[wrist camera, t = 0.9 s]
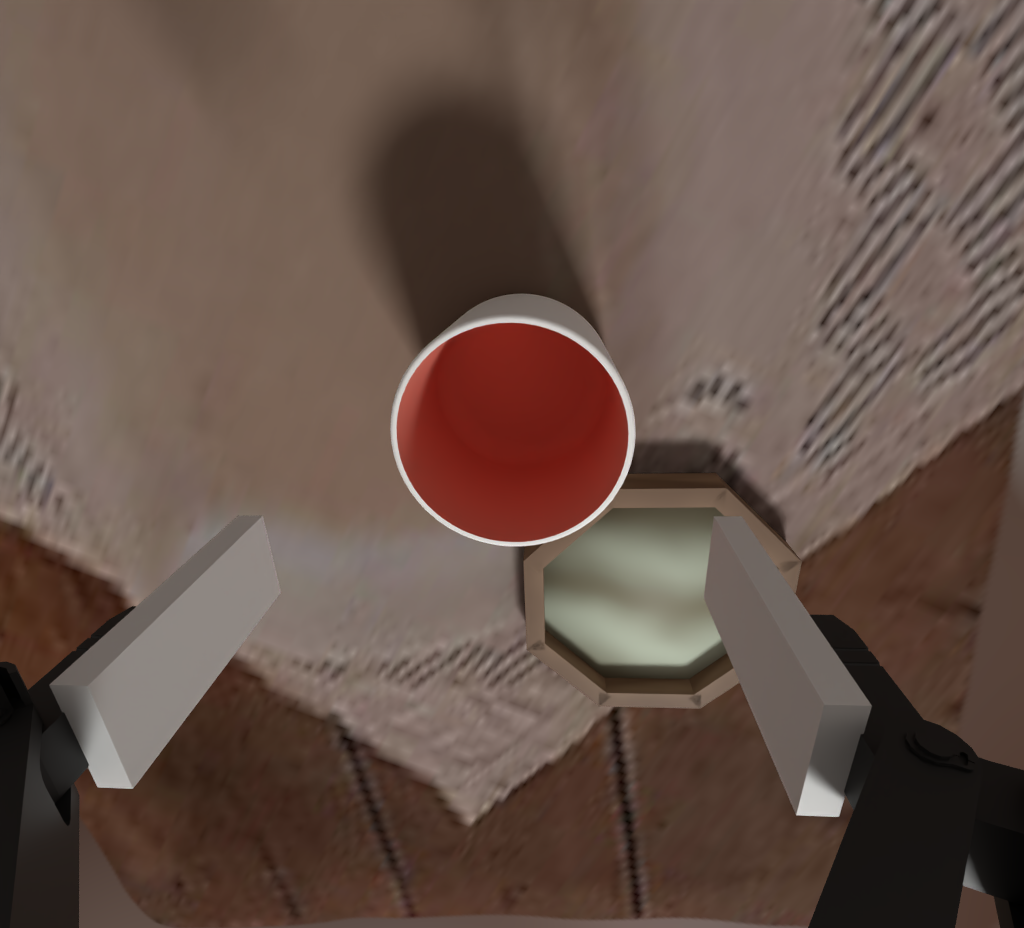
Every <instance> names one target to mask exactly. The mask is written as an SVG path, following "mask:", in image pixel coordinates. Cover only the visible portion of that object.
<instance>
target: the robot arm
mask: <svg viewBox="0 0 1024 928" xmlns="http://www.w3.org/2000/svg"><path fill="white" fill-rule="evenodd" d="M280 593H281V590H280V586H279V582H278V578H277V574H276V569H275V565H274V561H273V557H272V552H271V548H270V544H269V540H268V536H267V531H266V527H265V523H264V519H263V516H237V517H236V518H235V519H234V520H233V521H232V522H230V523H229V524H228V525H227V526H226V527H225V528H224V529H223V530H221V531H220V532H219V533H218V534H217V535H216V536H215V537H214V538H213V539H211V540H210V541H209V542H208V543H207V544H206V545H205V546H204V547H202V548H201V549H200V550H199V551H198V552H197V553H196V554H195V555H194V556H192V557H191V558H190V559H189V560H188V561H187V562H186V563H185V564H184V565H182V566H181V567H180V568H179V569H178V570H177V571H176V572H175V573H173V574H172V575H171V576H170V577H169V578H168V579H167V580H166V581H165V582H163V583H162V584H161V585H160V586H159V587H158V588H157V589H156V590H154V591H153V592H152V593H151V594H150V595H149V596H148V597H147V598H146V599H144V600H143V601H142V602H141V603H140V604H139V605H138V606H137V607H136V606H132V607H130V608H129V609H127V610H125V611H123V612H122V613H120V614H118V615H116V616H115V617H113V618H111V619H109V620H108V621H107V622H106V623H105V624H104V625H102V626H101V627H100V628H99V629H98V630H97V631H96V632H94V633H93V634H92V635H91V638H87V639H86V640H85V641H84V642H83V643H82V644H81V645H79V646H78V647H77V650H76V651H73V652H71V653H70V654H69V655H68V656H67V657H66V658H64V659H63V660H62V661H61V662H60V663H59V664H58V665H56V666H55V667H54V668H53V669H52V670H51V671H50V672H48V673H47V674H46V675H45V676H44V677H43V678H41V679H40V680H39V681H38V682H37V683H36V684H35V685H33V686H32V687H31V688H30V689H29V690H27V688H26V686H25V684H24V682H23V680H22V678H21V676H20V674H19V672H18V670H17V667H16V665H15V664H12V663H9V662H0V928H79V794H78V791H77V788H76V786H75V784H74V782H75V781H76V780H77V779H78V778H79V777H80V775H81V774H82V773H83V772H84V771H85V770H86V768H87V767H88V768H89V770H90V772H91V774H92V776H93V778H94V781H95V783H96V785H97V787H103V788H128V789H133V788H134V787H135V785H136V784H137V783H138V781H139V780H140V779H141V777H142V776H143V775H144V773H145V772H146V771H147V769H148V768H149V767H150V765H151V764H152V763H153V761H154V760H155V759H156V758H157V756H158V755H159V754H160V752H161V751H162V750H163V748H164V747H165V746H166V744H167V743H168V742H169V740H170V739H171V738H172V736H173V735H174V734H175V732H176V731H177V730H178V728H179V727H180V726H181V724H182V723H183V722H184V720H185V719H186V718H187V716H188V715H189V714H190V712H191V711H192V710H193V708H194V707H195V706H196V705H197V703H198V702H199V701H200V699H201V698H202V697H203V695H204V694H205V693H206V691H207V690H208V689H209V687H210V686H211V685H212V683H213V682H214V681H215V679H216V678H217V677H218V675H219V674H220V673H221V671H222V670H223V669H224V667H225V666H226V665H227V663H228V662H229V661H230V659H231V658H232V657H233V655H234V654H235V653H236V652H237V650H238V649H239V648H240V646H241V645H242V644H243V642H244V641H245V640H246V638H247V637H248V636H249V634H250V633H251V632H252V630H253V629H254V628H255V626H256V625H257V624H258V622H259V621H260V620H261V618H262V617H263V616H264V614H265V613H266V612H267V610H268V609H269V608H270V606H271V605H272V604H273V602H274V601H275V600H276V599H277V597H278V596H279V595H280ZM704 600H705V602H706V604H707V607H708V609H709V611H710V614H711V616H712V618H713V621H714V623H715V626H716V628H717V630H718V633H719V635H720V637H721V640H722V642H723V644H724V647H725V649H726V651H727V654H728V656H729V658H730V661H731V663H732V665H733V668H734V670H735V672H736V675H737V677H738V679H739V682H740V684H741V687H742V689H743V691H744V694H745V696H746V698H747V701H748V703H749V705H750V708H751V710H752V712H753V715H754V717H755V719H756V722H757V724H758V726H759V729H760V731H761V733H762V736H763V738H764V741H765V743H766V745H767V748H768V750H769V752H770V755H771V757H772V759H773V762H774V764H775V766H776V769H777V771H778V773H779V776H780V778H781V780H782V783H783V785H784V787H785V790H786V792H787V794H788V797H789V799H790V802H791V804H792V806H793V809H794V811H795V813H796V815H805V816H830V817H839V815H840V811H841V808H842V805H843V801H844V798H845V795H846V796H847V798H848V800H849V802H850V804H851V806H852V808H853V810H854V811H853V814H852V817H851V819H850V822H849V824H848V827H847V829H846V832H845V835H844V837H843V840H842V842H841V845H840V847H839V850H838V853H837V855H836V858H835V860H834V863H833V865H832V868H831V871H830V873H829V876H828V878H827V881H826V883H825V886H824V889H823V891H822V894H821V896H820V899H819V901H818V904H817V907H816V909H815V912H814V914H813V917H812V919H811V922H810V925H809V927H808V928H955V925H956V919H957V913H958V908H959V903H960V897H961V892H962V886H966V887H969V888H972V889H975V890H978V891H981V892H983V893H986V894H989V895H992V896H994V899H995V904H996V909H997V914H998V919H999V924H1000V928H1024V770H1021V769H1017V768H1013V767H1009V766H1006V765H1002V764H998V763H995V762H991V761H988V760H985V759H982V758H979V757H978V756H977V755H976V753H975V752H974V751H973V749H972V748H971V747H970V746H969V745H968V744H967V743H965V742H964V741H963V740H962V739H961V738H960V737H958V736H957V735H956V734H954V733H952V732H950V731H949V730H947V729H945V728H943V727H942V726H940V725H937V724H935V723H932V722H929V721H926V720H923V718H922V717H921V716H920V715H919V713H918V712H917V711H916V709H915V708H914V707H913V706H912V704H911V703H910V702H909V700H908V699H907V698H906V696H905V695H904V694H903V693H902V691H901V690H900V689H899V687H898V686H897V685H896V684H895V682H894V681H893V680H892V678H891V677H890V676H889V675H888V673H887V672H886V671H885V669H884V668H883V667H882V666H880V665H879V662H878V660H877V659H876V658H875V656H874V655H873V654H872V653H871V652H869V651H868V647H867V646H866V645H865V643H864V642H863V641H862V640H861V638H860V637H859V636H858V634H857V633H856V632H855V631H854V630H853V629H852V628H850V627H849V626H848V625H846V624H845V623H843V622H842V621H841V620H839V619H838V618H837V617H835V616H834V615H809V613H808V612H807V611H806V609H805V608H804V606H803V605H802V603H801V602H800V600H799V599H798V597H797V596H796V595H795V593H794V592H793V590H792V589H791V587H790V586H789V584H788V583H787V581H786V580H785V579H784V577H783V576H782V574H781V573H780V571H779V570H778V568H777V567H776V565H775V564H774V562H773V561H772V560H771V558H770V557H769V555H768V554H767V552H766V551H765V549H764V548H763V546H762V545H761V544H760V542H759V541H758V539H757V538H756V536H755V535H754V533H753V532H752V530H751V529H750V528H749V526H748V525H747V523H746V522H745V520H744V519H743V517H742V516H714V519H713V527H712V535H711V543H710V551H709V559H708V567H707V575H706V583H705V591H704Z"/></svg>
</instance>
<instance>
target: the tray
mask: <svg viewBox="0 0 1024 928" xmlns="http://www.w3.org/2000/svg"><path fill="white" fill-rule="evenodd" d="M714 516H742V517H743V519H744V520H745V522H746V523H747V525H748V526H749V528H750V529H751V530H752V532H753V533H754V535H755V536H756V538H757V539H758V541H759V542H760V544H761V545H762V546H763V548H764V549H765V551H766V552H767V554H768V555H769V557H770V558H771V560H772V561H773V562H774V564H775V565H776V567H777V568H778V570H779V571H780V573H781V574H782V576H783V577H784V579H785V580H786V581H787V583H788V584H789V586H790V587H791V589H792V590H793V592H794V593H795V594H796V588H797V583H798V578H799V572H800V567H801V562H802V561H801V560H800V559H799V558H798V556H797V555H796V554H795V552H794V551H793V550H792V549H791V547H790V546H789V545H788V544H787V542H786V541H784V540H783V539H782V538H781V537H780V536H779V535H778V534H777V533H776V532H775V531H774V530H773V529H772V528H771V527H770V526H769V525H768V524H767V523H766V522H765V521H764V520H763V519H762V518H761V517H760V516H759V515H758V514H757V513H756V512H755V511H754V510H753V509H752V508H751V507H750V506H749V505H748V504H747V503H746V502H745V501H744V500H743V499H742V498H741V497H740V496H739V495H738V494H737V493H736V492H735V491H734V490H733V489H732V488H731V487H729V486H728V485H727V484H726V483H725V482H724V481H723V480H722V479H721V478H720V477H719V476H718V475H717V474H716V473H650V474H627V476H626V478H625V480H624V482H623V484H622V486H621V488H620V489H619V491H618V492H617V494H616V495H615V497H614V498H613V500H612V501H611V502H610V504H609V505H608V506H607V507H606V508H605V509H604V510H603V511H602V512H601V513H600V514H599V515H598V516H597V517H596V518H594V519H593V520H592V521H591V522H589V523H588V524H587V525H585V526H584V527H582V528H580V529H579V530H577V531H575V532H573V533H571V534H569V535H567V536H565V537H562V538H560V539H557V540H554V541H550V542H547V543H542V544H537V545H530V546H525V548H524V560H523V564H524V591H525V617H526V643H527V650H528V651H529V652H530V653H532V654H533V655H534V656H536V657H537V658H538V659H539V660H541V661H542V662H543V663H544V664H546V665H547V666H548V667H550V668H551V669H552V670H553V671H555V672H556V673H557V674H558V675H560V676H561V677H562V678H564V679H565V680H566V681H567V682H569V683H570V684H571V685H572V686H574V687H575V688H576V689H578V690H579V691H580V692H581V693H583V694H584V695H585V696H586V697H588V698H589V699H590V700H592V701H593V702H594V703H595V704H597V705H598V706H609V707H657V708H701V707H703V706H704V705H706V704H708V703H709V702H711V701H712V700H714V699H715V698H717V697H718V696H720V695H721V694H723V693H724V692H726V691H727V690H729V689H730V688H732V687H733V686H735V685H736V684H738V683H739V679H738V677H737V675H736V672H735V670H734V668H733V665H732V663H731V661H730V658H729V656H728V654H727V651H726V649H725V647H724V644H723V642H722V640H721V637H720V635H719V633H718V630H717V628H716V626H715V623H714V621H713V618H712V616H711V614H710V611H709V609H708V607H707V604H706V602H705V600H704V591H705V583H706V575H707V567H708V559H709V551H710V543H711V535H712V527H713V519H714Z"/></svg>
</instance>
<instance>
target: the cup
mask: <svg viewBox="0 0 1024 928" xmlns="http://www.w3.org/2000/svg"><path fill="white" fill-rule="evenodd" d="M390 432H391V443H392V448H393V453H394V457H395V460H396V463H397V467H398V469H399V471H400V474H401V476H402V478H403V480H404V482H405V484H406V485H407V487H408V488H409V490H410V492H411V493H412V494H413V496H414V497H415V498H416V500H417V501H418V502H419V503H420V504H421V505H422V506H423V507H424V508H425V510H426V511H427V512H428V513H430V514H431V515H432V516H433V517H434V518H436V519H437V520H438V521H439V522H441V523H442V524H444V525H445V526H447V527H448V528H450V529H452V530H454V531H456V532H457V533H459V534H462V535H464V536H466V537H469V538H471V539H474V540H477V541H480V542H485V543H489V544H494V545H501V546H530V545H537V544H542V543H547V542H550V541H554V540H557V539H560V538H562V537H565V536H567V535H569V534H571V533H573V532H575V531H577V530H579V529H580V528H582V527H584V526H585V525H587V524H588V523H589V522H591V521H592V520H593V519H594V518H596V517H597V516H598V515H599V514H600V513H601V512H602V511H603V510H604V509H605V508H606V507H607V506H608V505H609V504H610V502H611V501H612V500H613V498H614V497H615V495H616V494H617V492H618V491H619V489H620V488H621V486H622V484H623V482H624V480H625V478H626V476H627V474H628V471H629V468H630V465H631V462H632V458H633V453H634V447H635V418H634V412H633V407H632V403H631V400H630V397H629V394H628V391H627V389H626V387H625V384H624V382H623V380H622V378H621V376H620V374H619V372H618V370H617V369H616V367H615V365H614V363H613V361H612V359H611V357H610V355H609V353H608V351H607V349H606V347H605V346H604V344H603V342H602V340H601V338H600V337H599V335H598V334H597V332H596V331H595V329H594V328H593V327H592V326H591V325H590V324H589V322H588V321H587V320H586V319H585V318H584V317H582V316H581V315H580V314H579V313H577V312H576V311H575V310H573V309H572V308H570V307H568V306H567V305H565V304H563V303H561V302H559V301H556V300H554V299H551V298H548V297H544V296H540V295H534V294H510V295H503V296H499V297H495V298H492V299H489V300H487V301H484V302H482V303H480V304H478V305H476V306H475V307H473V308H472V309H470V310H469V311H467V312H466V313H465V314H464V315H462V316H461V317H460V318H459V319H457V320H456V321H455V322H454V323H453V324H452V325H450V326H449V327H448V328H447V329H446V330H444V331H443V332H442V333H441V334H440V335H438V336H437V337H436V338H435V339H434V340H433V341H431V342H430V343H429V344H428V345H427V346H426V347H425V348H424V349H423V350H422V351H421V352H420V353H419V354H418V355H417V356H416V357H415V359H414V360H413V361H412V363H411V364H410V365H409V367H408V368H407V370H406V372H405V373H404V375H403V377H402V379H401V381H400V384H399V386H398V389H397V391H396V394H395V398H394V402H393V406H392V412H391V426H390Z"/></svg>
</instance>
